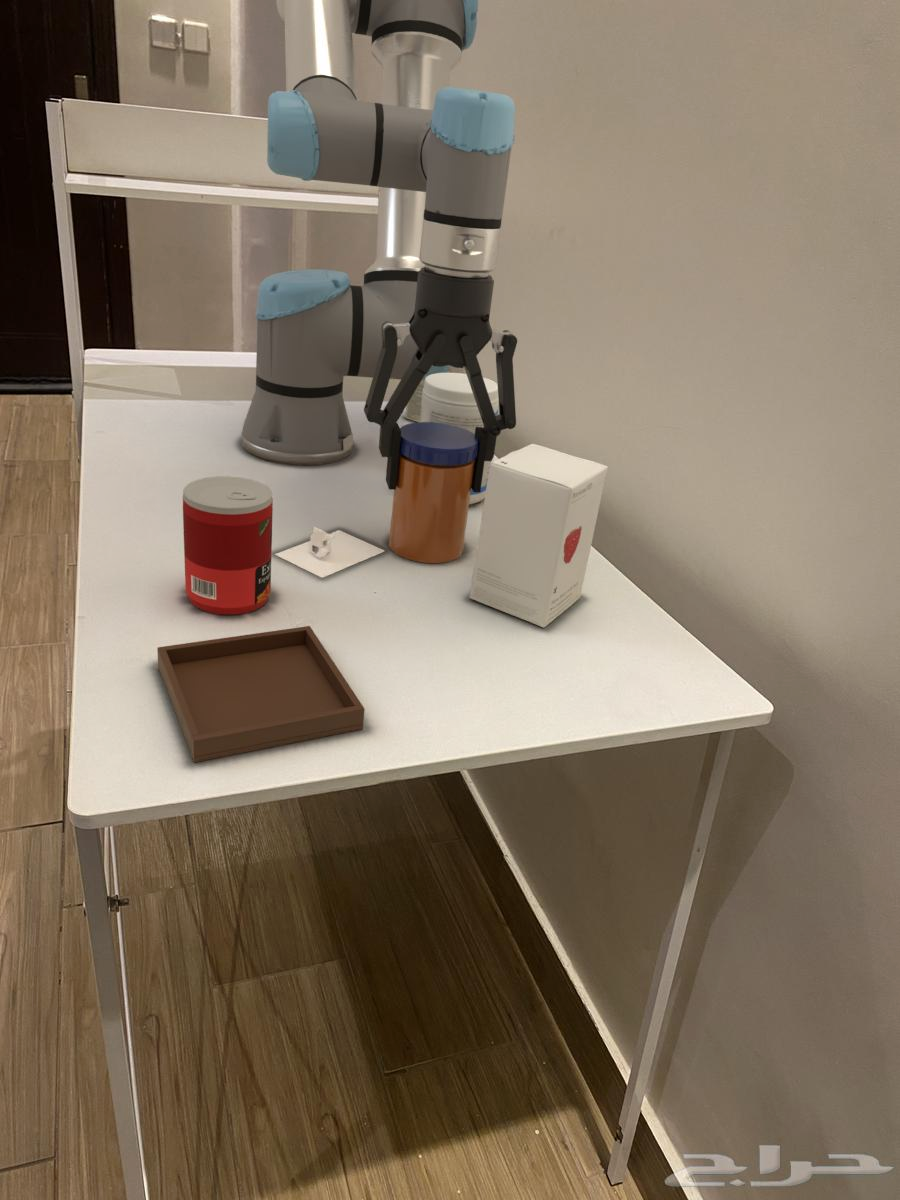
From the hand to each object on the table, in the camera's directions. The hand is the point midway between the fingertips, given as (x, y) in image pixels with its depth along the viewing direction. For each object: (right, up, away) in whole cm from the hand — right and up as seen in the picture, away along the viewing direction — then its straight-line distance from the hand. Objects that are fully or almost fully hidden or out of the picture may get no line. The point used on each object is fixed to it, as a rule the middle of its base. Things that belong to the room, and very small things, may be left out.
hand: (432, 486), depth 99 cm
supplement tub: (+2, +1, +19) cm, 19 cm away
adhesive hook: (-11, -7, 0) cm, 13 cm away
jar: (-1, -6, +4) cm, 7 cm away
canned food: (-20, -12, -11) cm, 26 cm away
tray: (-14, -20, -25) cm, 35 cm away
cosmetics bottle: (-2, +16, +45) cm, 48 cm away
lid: (+1, +5, -2) cm, 5 cm away
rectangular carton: (+10, -13, -5) cm, 17 cm away
